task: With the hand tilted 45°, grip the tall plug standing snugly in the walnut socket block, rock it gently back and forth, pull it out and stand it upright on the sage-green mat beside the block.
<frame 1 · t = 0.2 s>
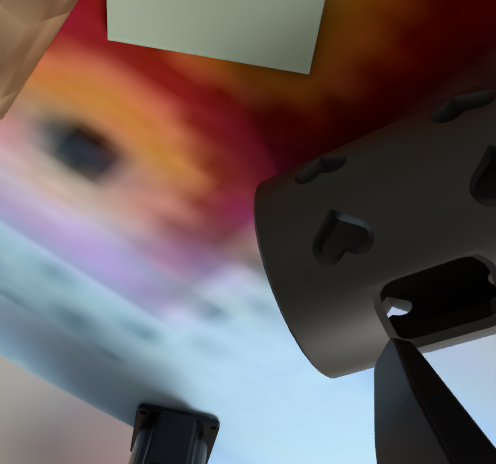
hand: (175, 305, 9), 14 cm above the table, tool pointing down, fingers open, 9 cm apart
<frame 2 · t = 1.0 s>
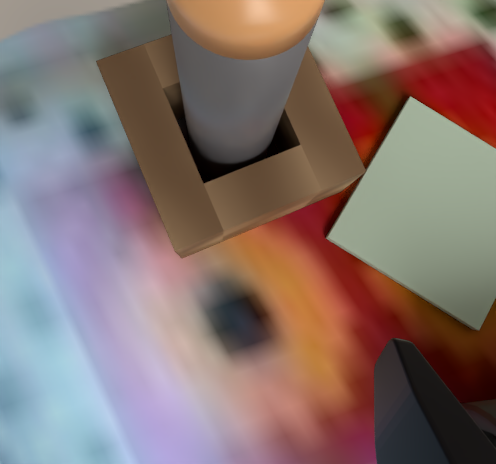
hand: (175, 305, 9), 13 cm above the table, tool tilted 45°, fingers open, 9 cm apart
mat: (439, 211, 24), on the table
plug: (235, 85, 17), in the socket block
socket block: (229, 146, 24), on the table
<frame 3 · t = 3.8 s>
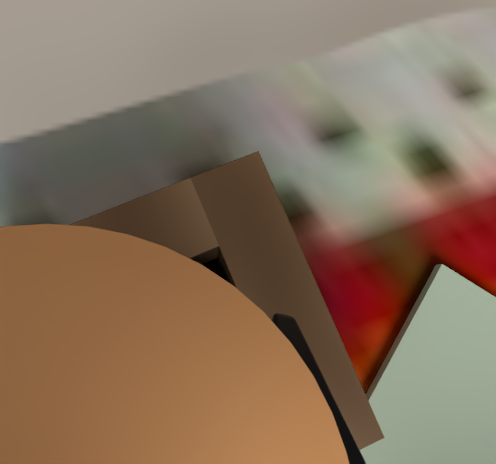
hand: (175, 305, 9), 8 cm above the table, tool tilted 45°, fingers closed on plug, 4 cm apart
mat: (483, 430, 17), on the table
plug: (162, 369, 10), in the socket block, touching gripper
socket block: (183, 339, 16), on the table
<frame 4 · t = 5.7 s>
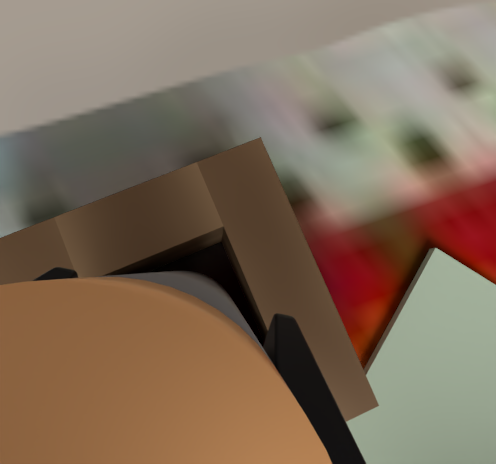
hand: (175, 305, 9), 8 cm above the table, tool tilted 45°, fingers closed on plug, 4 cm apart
mat: (474, 405, 18), on the table
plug: (163, 365, 10), in the socket block, touching gripper
socket block: (189, 319, 17), on the table
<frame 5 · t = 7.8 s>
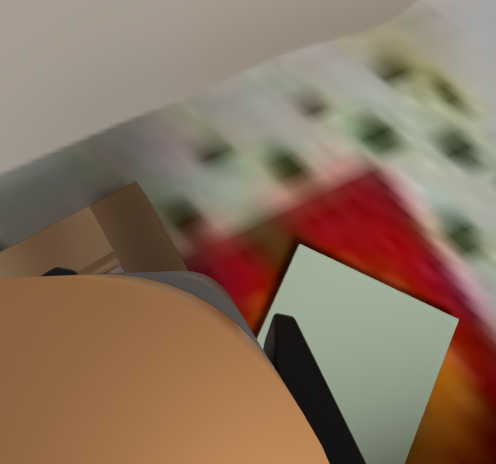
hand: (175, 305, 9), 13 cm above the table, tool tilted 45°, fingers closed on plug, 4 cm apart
mat: (342, 363, 23), on the table
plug: (162, 364, 10), point 13 cm above the table, touching gripper
socket block: (111, 322, 22), on the table
when the fingers open (9 cm above the table, at t = 9.9 s): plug drops 1 cm, resting on mat.
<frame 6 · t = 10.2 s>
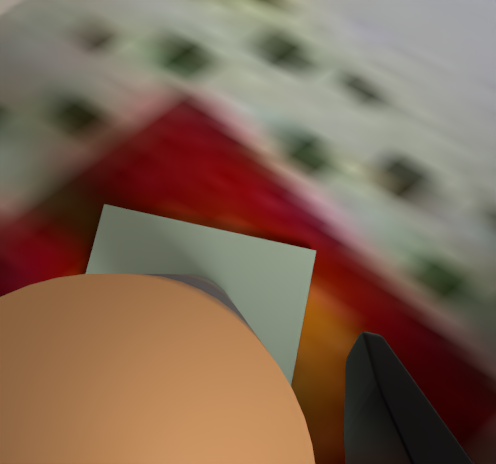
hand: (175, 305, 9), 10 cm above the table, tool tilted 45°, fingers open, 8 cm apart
mat: (187, 335, 18), on the table
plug: (169, 356, 11), on the mat
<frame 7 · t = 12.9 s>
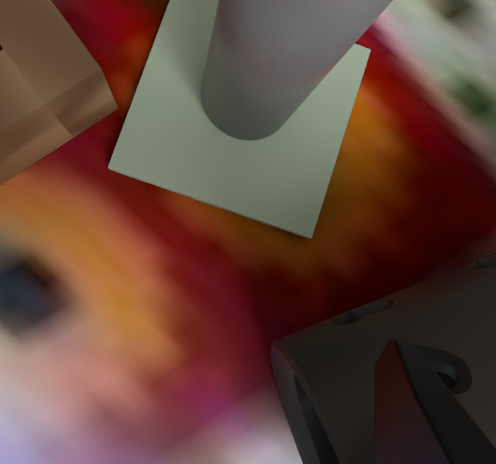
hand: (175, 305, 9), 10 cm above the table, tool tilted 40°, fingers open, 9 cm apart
mat: (244, 109, 20), on the table
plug: (293, 2, 12), on the mat
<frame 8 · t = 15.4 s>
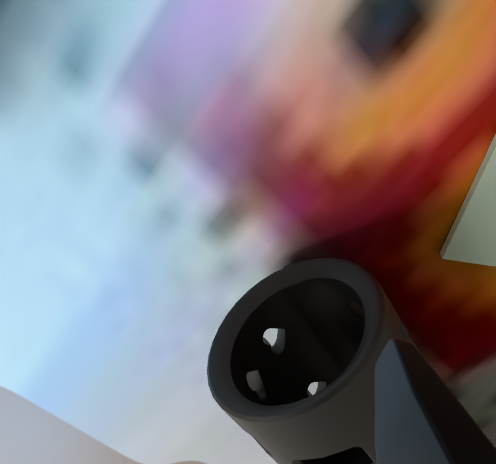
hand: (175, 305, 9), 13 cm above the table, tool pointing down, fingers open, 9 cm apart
muzzle brake: (385, 389, 31), on the table
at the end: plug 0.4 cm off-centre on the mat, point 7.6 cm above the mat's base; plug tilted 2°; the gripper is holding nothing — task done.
